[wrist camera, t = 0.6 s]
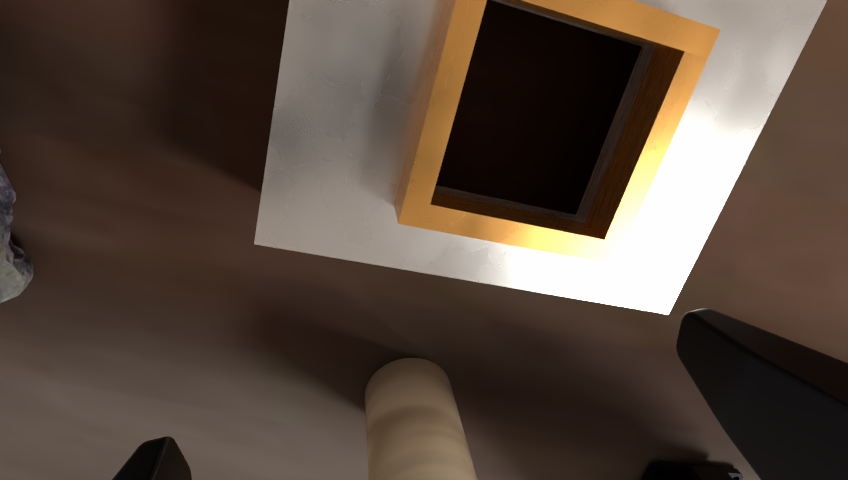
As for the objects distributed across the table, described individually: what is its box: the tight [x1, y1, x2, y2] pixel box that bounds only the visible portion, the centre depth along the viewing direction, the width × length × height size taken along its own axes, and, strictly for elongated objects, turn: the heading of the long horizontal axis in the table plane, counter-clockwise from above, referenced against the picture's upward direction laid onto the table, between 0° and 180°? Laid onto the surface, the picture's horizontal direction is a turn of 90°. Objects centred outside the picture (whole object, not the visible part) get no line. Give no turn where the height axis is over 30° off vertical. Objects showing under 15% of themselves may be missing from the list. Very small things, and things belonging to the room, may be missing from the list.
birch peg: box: [365, 358, 477, 480], centre depth 22 cm, size 4×4×7 cm
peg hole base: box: [254, 0, 827, 314], centre depth 18 cm, size 12×16×6 cm
